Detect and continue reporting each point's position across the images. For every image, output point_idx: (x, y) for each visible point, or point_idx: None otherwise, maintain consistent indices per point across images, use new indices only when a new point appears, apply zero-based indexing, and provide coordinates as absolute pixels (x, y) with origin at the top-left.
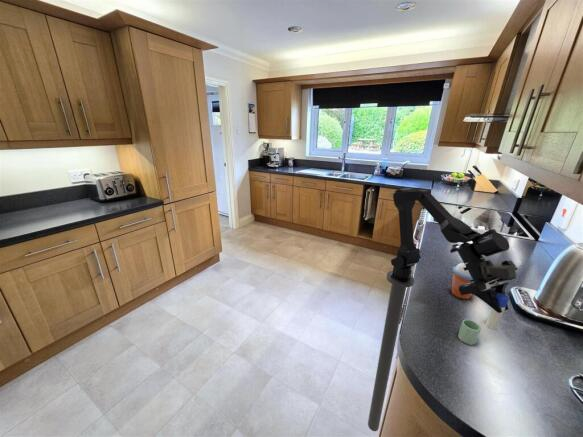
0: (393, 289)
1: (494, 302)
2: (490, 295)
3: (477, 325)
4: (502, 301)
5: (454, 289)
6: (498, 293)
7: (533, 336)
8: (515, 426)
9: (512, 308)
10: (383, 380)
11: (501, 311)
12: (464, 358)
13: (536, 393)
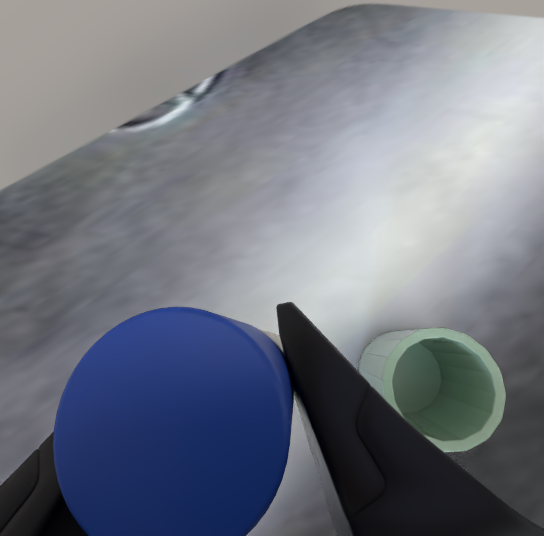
0: None
1: (369, 388)
2: (521, 515)
3: (392, 375)
4: (261, 339)
5: None
6: None
7: (40, 311)
8: (537, 29)
9: None
10: None
11: (289, 304)
12: (515, 271)
13: (347, 99)
